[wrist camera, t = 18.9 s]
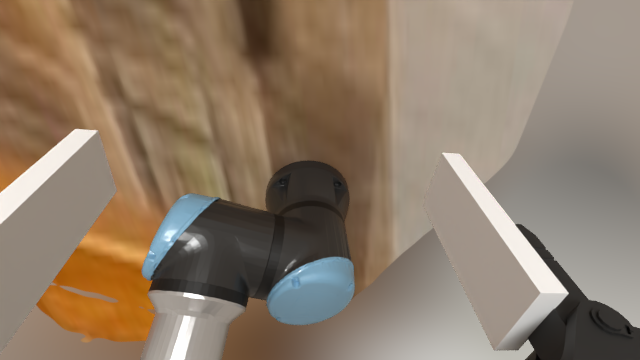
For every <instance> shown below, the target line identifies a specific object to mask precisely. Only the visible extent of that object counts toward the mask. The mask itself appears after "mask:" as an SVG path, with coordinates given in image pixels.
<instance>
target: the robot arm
mask: <svg viewBox="0 0 640 360" xmlns="http://www.w3.org/2000/svg"><path fill="white" fill-rule="evenodd" d="M116 191H117V189H116V186H115V183H114V180H113V176H112V173H111V170H110V167H109V164H108V160H107V157H106V154H105V151H104V148H103V144H102V141H101V138H100V135H99V132H98V131H97V130H82V129H75V130H74V131H73V132H71V133H70V134H69V135H68V136H67V137H65V138H64V139H63V140H62V141H61V142H60V143H58V144H57V145H56V146H55V147H54V148H53V149H51V150H50V151H49V152H48V153H47V154H46V155H44V156H43V157H42V158H41V159H40V160H39V161H37V162H36V163H35V164H34V165H33V166H31V167H30V168H29V169H28V170H27V171H26V172H24V173H23V174H22V175H21V176H20V177H19V178H17V179H16V180H15V181H14V182H13V183H12V184H10V185H9V186H8V187H7V188H6V189H5V190H3V191H2V192H1V193H0V354H1V353H2V351H3V350H4V348H5V347H6V346H7V344H8V343H9V341H10V340H11V338H12V337H13V336H14V334H15V333H16V331H17V330H18V329H19V327H20V326H21V324H22V323H23V322H24V320H25V319H26V317H27V316H28V315H29V313H30V312H31V310H32V309H33V308H34V306H35V305H36V303H37V302H38V301H39V299H40V298H41V296H42V295H43V294H44V292H45V291H46V289H47V288H48V287H49V285H50V284H51V282H52V281H53V280H54V278H55V277H56V275H57V274H58V273H59V271H60V270H61V268H62V267H63V266H64V264H65V263H66V261H67V260H68V259H69V257H70V256H71V254H72V253H73V252H74V250H75V249H76V247H77V246H78V245H79V243H80V242H81V240H82V239H83V238H84V236H85V235H86V233H87V232H88V231H89V229H90V228H91V226H92V225H93V224H94V222H95V221H96V219H97V218H98V217H99V215H100V214H101V212H102V211H103V210H104V208H105V207H106V205H107V204H108V203H109V201H110V200H111V198H112V197H113V196H114V194H115V193H116ZM265 201H266V208H267V211H268V212H267V211H263V210H259V209H255V208H251V207H248V206H244V205H240V204H237V203H233V202H230V201H226V200H222V199H220V198H219V197H214V198H213V197H208V196H204V195H199V194H194V193H191V194H186V195H184V196H182V197H181V198H179V199H178V200H177V201H176V202H175V204H174V205H173V206H172V207H171V209H170V210H169V212H168V213H167V215H166V217H165V218H164V220H163V222H162V224H161V225H160V227H159V229H158V231H157V233H156V235H155V237H154V239H153V241H152V244H151V246H150V251H149V252H148V254H147V257H146V259H145V261H144V264H143V268H142V275H143V277H145V278H146V279H147V280H149V281H151V280H153V281H152V284H151V287H150V289H149V292H148V297H149V298H150V300H151V302H152V304H153V306H154V308H155V312H156V314H155V317H154V320H153V323H152V326H151V329H150V332H149V335H148V337H147V340H146V343H145V346H144V349H143V352H142V355H141V358H140V360H222V355H223V351H224V347H225V342H226V338H227V334H228V329H229V325H230V324H231V323H232V321H233V320H235V319H236V318H237V317H238V316H240V315H241V314H243V313H244V312H245V310H246V306H247V302H248V297H251V298H256V299H261V300H266V301H267V304H266V305H267V307H268V310H269V313H270V314H271V316H272V317H275V318H276V320H278V321H279V322H282V323H285V324H290V325H308V324H313V323H317V322H321V321H324V320H326V319H328V318H331V317H333V316H335V315H336V314H338V313H339V312H341V311H342V310H343V309H344V308H345V307H346V306H347V305H348V304H349V302H350V301H351V299H352V297H353V294H354V289H355V284H354V266H353V264H352V261H351V256H350V250H349V245H348V240H347V234H346V229H345V224H344V221H345V217H346V213H347V210H348V206H349V191H348V187H347V183H346V181H345V179H344V177H343V176H342V175H341V174H340V173H339V172H338V171H337V170H336V169H335V168H333V167H331V166H329V165H327V164H324V163H321V162H316V161H300V162H295V163H292V164H289V165H287V166H285V167H283V168H281V169H280V170H279V171H277V172H276V173H275V174H274V175H273V177H272V178H271V179H270V181H269V183H268V186H267V190H266V199H265ZM422 205H423V207H424V209H425V211H426V213H427V215H428V217H429V219H430V221H431V223H432V225H433V227H434V229H435V231H436V233H437V235H438V237H439V239H440V241H441V244H442V246H443V248H444V250H445V252H446V254H447V256H448V258H449V260H450V262H451V264H452V266H453V268H454V270H455V272H456V274H457V276H458V278H459V280H460V282H461V284H462V286H463V288H464V290H465V292H466V295H467V297H468V299H469V301H470V303H471V305H472V307H473V309H474V311H475V313H476V315H477V317H478V319H479V321H480V323H481V325H482V327H483V329H484V331H485V333H486V335H487V337H488V339H489V341H490V343H491V346H492V348H493V349H494V350H519V348H520V347H521V346H522V345H523V344H524V343H525V342H526V341H527V340H529V341H530V343H531V345H532V346H533V348H534V351H533V352H532V353H531V354H530V355H529V356H528V357H527V358H526V359H525V360H640V328H636V327H633V326H632V325H631V324H630V323H629V321H628V320H627V319H625V318H624V317H623V316H622V315H621V314H620V313H619V312H617V311H615V310H614V309H612V308H610V307H609V306H607V305H605V304H602V303H600V302H597V301H591V300H588V298H587V297H586V296H585V295H584V294H583V293H582V291H581V290H580V289H579V288H578V286H577V285H576V284H575V283H574V282H573V280H572V279H571V278H570V277H569V275H568V274H567V273H566V272H565V271H564V270H563V268H562V267H561V266H560V265H559V263H558V262H557V261H554V257H553V256H552V255H551V254H550V252H548V250H546V249H545V246H544V245H543V244H542V243H541V242H540V240H539V239H538V238H537V237H536V235H534V234H533V233H532V232H530V231H529V230H528V229H526V228H525V227H524V226H522V225H521V224H514V223H513V222H512V220H511V219H510V218H509V216H508V215H507V214H506V213H505V211H504V210H503V209H502V207H501V206H500V205H499V204H498V202H497V201H496V200H495V199H494V198H493V196H492V195H491V194H490V192H489V191H488V190H487V188H486V187H485V186H484V184H483V183H482V182H481V181H480V179H479V178H478V177H477V176H476V174H475V173H474V172H473V170H472V169H471V168H470V167H469V165H468V164H467V163H466V161H465V160H464V159H463V158H462V156H461V155H460V154H452V153H442V154H441V157H440V159H439V162H438V165H437V167H436V170H435V172H434V175H433V178H432V180H431V183H430V186H429V188H428V191H427V194H426V196H425V199H424V202H423V204H422Z"/></svg>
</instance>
